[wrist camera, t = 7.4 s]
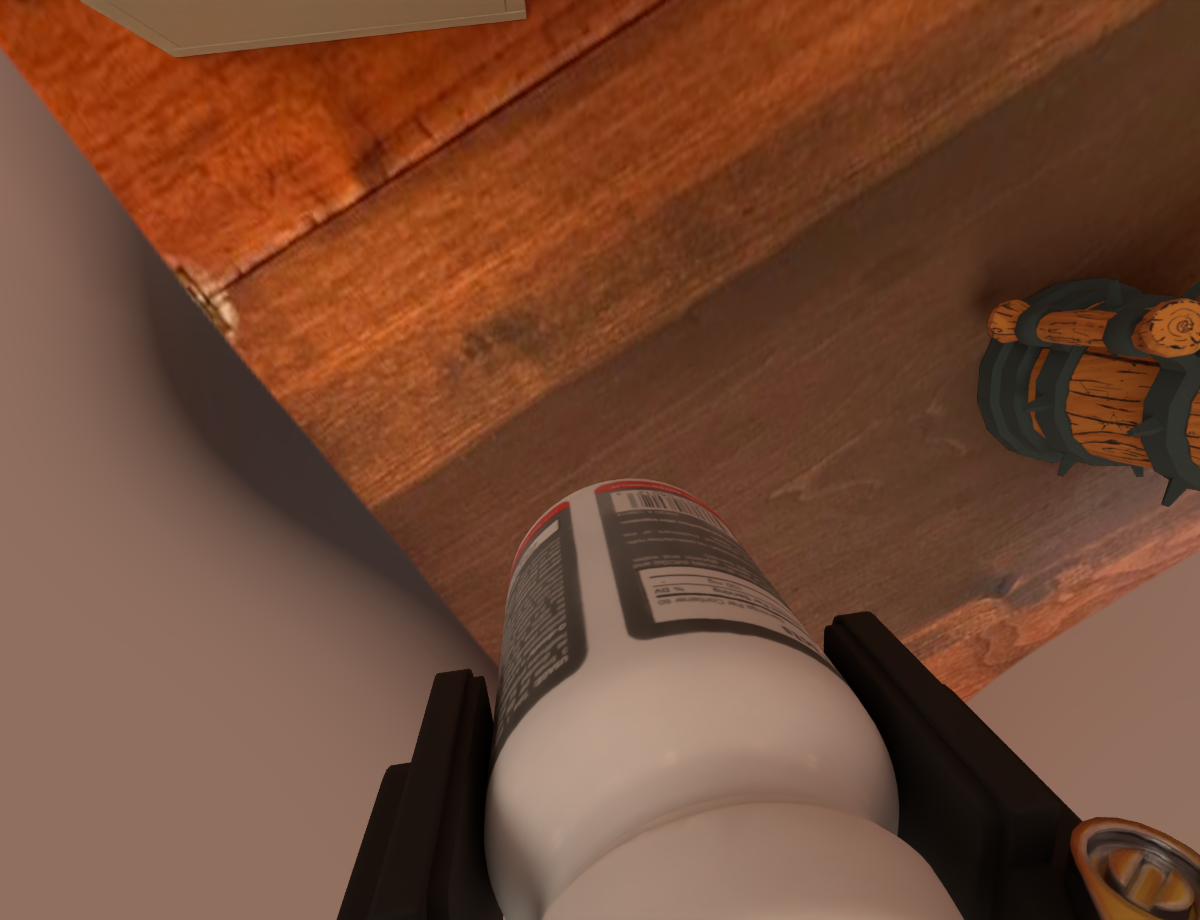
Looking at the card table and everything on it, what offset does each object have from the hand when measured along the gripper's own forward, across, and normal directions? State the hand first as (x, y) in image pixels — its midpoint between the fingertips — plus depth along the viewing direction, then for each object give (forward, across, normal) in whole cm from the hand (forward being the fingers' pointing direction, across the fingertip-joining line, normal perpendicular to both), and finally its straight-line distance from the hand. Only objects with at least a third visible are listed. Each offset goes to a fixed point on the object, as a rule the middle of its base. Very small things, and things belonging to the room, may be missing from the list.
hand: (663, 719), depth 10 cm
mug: (+21, -25, -1) cm, 32 cm away
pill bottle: (+5, 0, 0) cm, 5 cm away
